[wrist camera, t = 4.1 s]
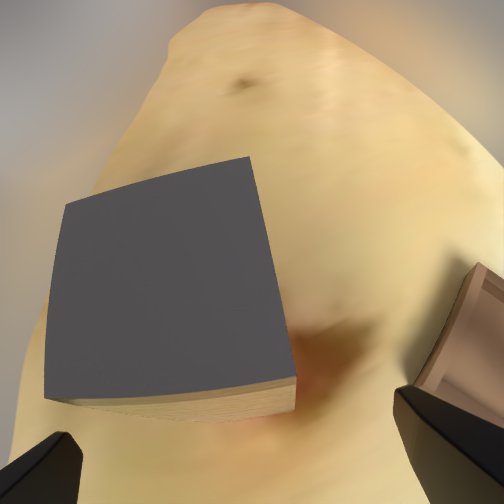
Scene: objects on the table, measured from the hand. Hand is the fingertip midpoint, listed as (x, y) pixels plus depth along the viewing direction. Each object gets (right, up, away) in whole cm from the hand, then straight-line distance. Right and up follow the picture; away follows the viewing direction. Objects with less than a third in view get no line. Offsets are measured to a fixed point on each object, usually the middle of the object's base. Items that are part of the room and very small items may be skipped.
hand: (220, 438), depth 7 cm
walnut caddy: (+16, -2, +8) cm, 18 cm away
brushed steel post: (+1, -3, +10) cm, 10 cm away
